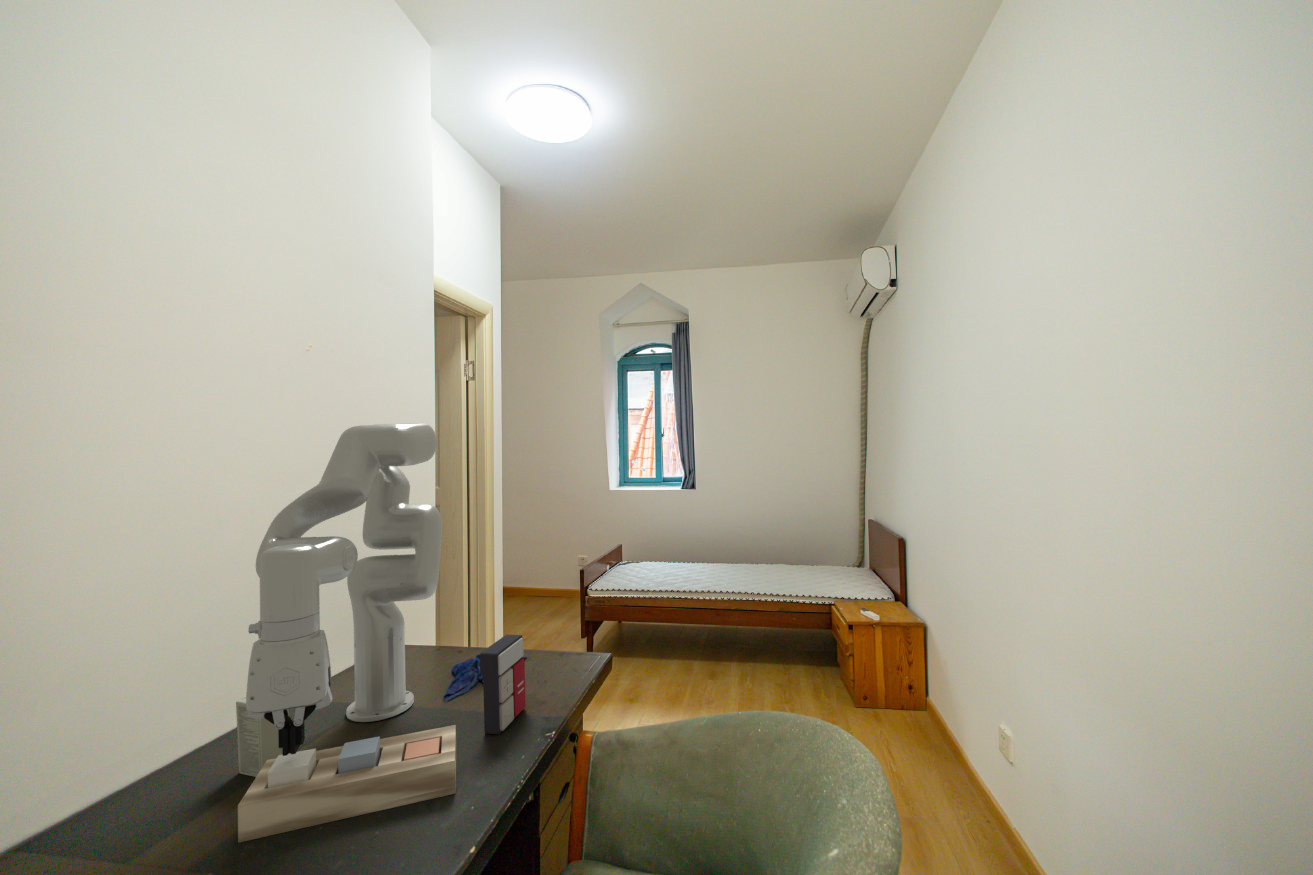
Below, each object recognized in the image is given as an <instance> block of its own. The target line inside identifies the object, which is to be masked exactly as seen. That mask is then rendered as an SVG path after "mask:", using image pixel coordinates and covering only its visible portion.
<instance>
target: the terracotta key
mask: <svg viewBox="0 0 1313 875" xmlns="http://www.w3.org/2000/svg"><path fill="white" fill-rule="evenodd" d="M435 754H440V737H439V738H434V739H429V740H424V741H418V742H413V743H408V744H407V747H406V752H405V757H404V761H405V760H410V759H415V758H420V757H425V756H430V755H435Z"/></svg>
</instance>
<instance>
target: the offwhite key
mask: <svg viewBox="0 0 1313 875" xmlns="http://www.w3.org/2000/svg"><path fill="white" fill-rule="evenodd" d="M316 751H317V748H316V747H315V748H310V749H306V750H304V749H303V750H300V751H298V750H297V752H296V754H292V755H291V754H290V753H289V754H288V755H286V756H283V754H282V755H278V757H277V758H276V760H275V762H274V763H273V765H272V767H271V768H270V770H269V771H268V788H271V787H276V786H281V785H286V784H291V783H296V782H301V781H306V780H310V779H311V777H312V775H313V773H314V770H315V768H316Z"/></svg>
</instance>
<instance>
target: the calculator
mask: <svg viewBox="0 0 1313 875" xmlns="http://www.w3.org/2000/svg"><path fill="white" fill-rule="evenodd" d="M525 667H526V666H525V658H524V638H523V635H522V634H505V635H504V636H502V637H501V638H499V639H497V640H496V642H494V643H493V644H491V645H490V646H488V647H487V648H485V649H484V650H483V651H481V652H480V653H479V673H480V676H481V677H482V679H483V680H482V682H483V685H482V686H483V688H482V689H483V722H484V723H483V724H484V726H483V727H484V728H483V731H484V733H485V734H490V735H491V734H492V735H500V734H501V733H503V731H504V730H505V729H506V728H508V726H509V725H510V724H511V723H512V722H513V721H514V719H515V718H517V716H519V715H520V713H521V712H522V711H523V710H524V709H525V708H526V668H525Z"/></svg>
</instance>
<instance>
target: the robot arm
mask: <svg viewBox="0 0 1313 875" xmlns="http://www.w3.org/2000/svg"><path fill="white" fill-rule="evenodd" d="M437 438H438V437H437V434H436V432H435V430H434V429H433V427H432V426H431V425H429V424H427V423H424V422H423V423H422V422H418V423H380V424H378V423H377V424H376V423H375V424H366V425H363V424H361V425H354V426H351V427H349V428H348V429H345V430H344V431H343V432H342V433H341V435H340V436H339V438H338V440H337V443H336V445H335V447H334V449H333V452H332V453H331V456H330V458H329V460H328V462H327V465H326V467H325V469H324V471H323V473H322V476H321V478H320V481H319V483H317V484H316V485H315V486H313V487H312V488H310V489H308V490H307V491H305V492H304V493H302V494H301V495H299V496H298V497H297V498H295V499H294V500H293V501H291V502H290V503H289V504H287V505H286V506H284V507H283V509H282V510H280V512H278V513H277V515H276V516H275V517H274V518H273V520H272V521H271V523H270V525H269V527H268V529H267V531H266V533H265V535H264V537H263V538H262V541H261V543H260V546H259V548H258V551H257V554H256V558H255V571H256V574H257V576H258V578H259V620H258V622H255V623H251V624H249V626H248V628H247V629H248V633H249V635H250V634H255V635H257V636H258V640H256V641H254V642H253V643H252V644H253V645H252V647H251V648H252V649H251V653H250V657H249V663H248V671H247V672H248V673H247V681H246V682H247V684H246V693H245V694H246V696H245V697H246V706H247V710H248V711H249V712H248V717H249V718H265V719H267V720H268V721H269V722H271V723H272V724H274V725H275V728H276V729H278V738H279V748H282V754H283V756H286V755H288V754H289V753H290V754H291V755H292V754H296V752H298V750H299V749H300V746H301V745H303V744H304V743H305V739H306V738H305V733H306V731H305V728H306V727H305V725H306V724H305V721H306V720H307V719H308V718H309V717H310V716H311V715H312V714H313V713H314V711H316V710H320V709H323V708H325V707H328V706H330V705H331V703H332V701H333V694H332V692H331V687H332V686H331V685H332V670H331V668H332V667H331V659H330V658H331V657H330V651H329V645H328V639H327V636H326V632H325V630H323V629H320V628H321V627H320V626H321V620H320V618H321V617H320V610H321V609H320V607H321V606H320V586H321V585H324V584H331V583H336V582H340V581H342V580H344V579H346V578H347V579H346V582H347V583H346V584H347V590H348V593H349V599H350V604H351V609H352V620H353V661H354V662H353V663H354V664H353V670H354V671H353V672H354V673H353V674H354V701H353V702H351V703H350V704H348V706H347V708H346V712H345V713H346V717H347V719H348V720H350V721H352V722H357V723H370V722H372V723H373V722H378V721H381V720H386V719H389V718H392V717H395V716H398V715H400V714H401V713H404V712H405V711H408V709H409V708H411V707H412V706H413V704H414V702H415V695H414V693H413V692H412V691H409V690H406V689H407V688H406V684H407V683H406V644H405V643H406V640H405V638H406V636H405V633H406V632H405V629H406V627H405V626H406V625H405V624H406V623H405V617H404V616H403V614H402V611H401V610H400V608H399V607H398V605H397V604H396V603H395V602H407V601H409V602H411V601H421V600H427V599H429V598H431V597H432V596H433V595H434V594H435V593H436V591H437V589H438V585H439V577H440V568H441V567H440V565H441V555H442V554H441V553H442V541H443V518H442V516H441V513H440V511H439V509H438V508H437V507H436V506H435V505H432V504H425V503H423V504H422V503H420V504H418V503H416V504H415V503H413V504H410V494H411V485H410V481H409V479H408V478H407V477H406V475H405V473H404V472H403V471H402V470H401V469H400V468H399V467H409V466H410V467H411V466H415V465H419V464H422V463H425V462H428V461H429V460H431V459H432V458H433V457H434V455H435V453H436V451H437V446H438V445H437V444H438V440H437ZM364 503H365V507H364V508H365V509H364V516H363V524H362V541H363V543H364V545H365V547H366V548H369V549H372V550H379V551H381V550H384V551H385V550H406V549H407V550H408V549H414V552H415V553H414V554H413V553H411V554H387V555H384V554H383V555H381V554H380V555H372V556H371V555H369V556H366V557H363V558H361V559H359V560H358V553H359V552H358V549H357V547H356V545H355V543H354V542H353V541H352V540H350V539H348V538H346V537H344V536H335V535H334V536H330V535H329V536H307V537H305V536H304V537H303V535H304V534H305V533H307V532H308V531H309V530H310V529H312V528H313V527H315V526H317V525H319V524H321V523H323V522H325V521H327V520H330V519H332V518H335V517H339V516H340V515H343V514H345V513H348V512H350V511H352V510H355V509H357V508H359V507H361V506H362V505H364ZM291 709H295V711H294V716H293V717H294V718H293V719H292V718H291V715H290V711H289V710H291Z"/></svg>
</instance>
